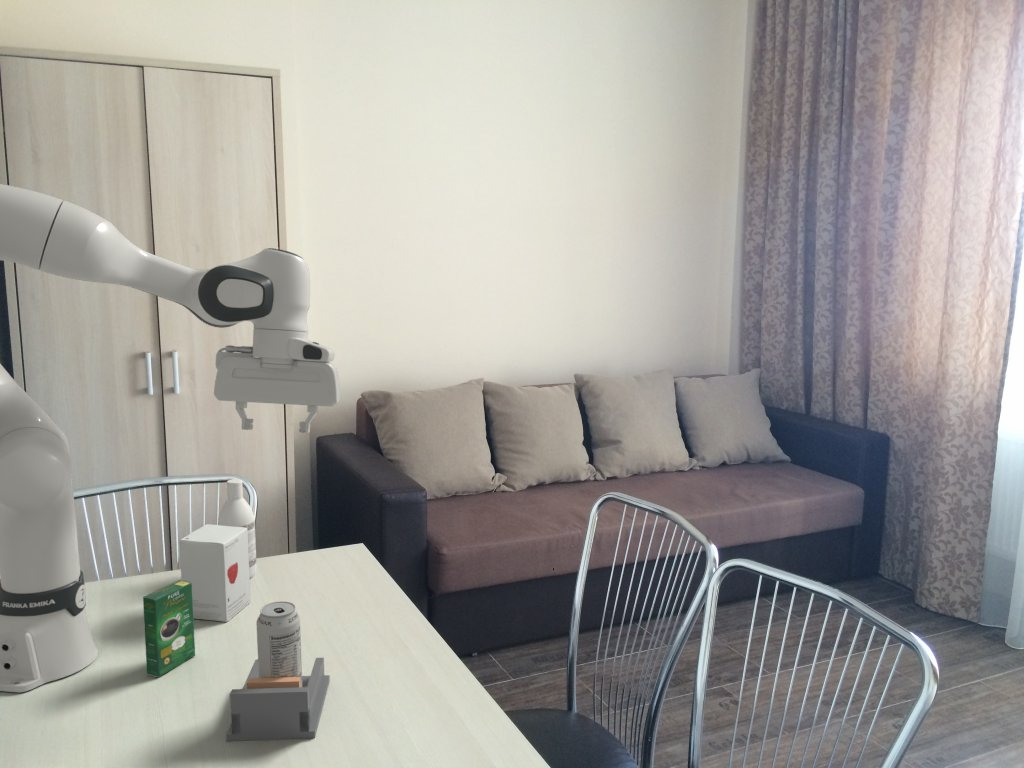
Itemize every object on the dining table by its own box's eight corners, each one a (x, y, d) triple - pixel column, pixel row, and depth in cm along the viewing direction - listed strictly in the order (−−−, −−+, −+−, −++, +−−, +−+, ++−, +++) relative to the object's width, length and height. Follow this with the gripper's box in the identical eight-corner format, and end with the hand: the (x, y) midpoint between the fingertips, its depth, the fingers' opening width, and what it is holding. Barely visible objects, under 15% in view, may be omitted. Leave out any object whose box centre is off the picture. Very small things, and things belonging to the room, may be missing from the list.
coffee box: (184, 651, 140) (179, 577, 137) (197, 655, 139) (193, 580, 136) (145, 674, 132) (140, 596, 130) (159, 678, 131) (154, 600, 129)
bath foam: (215, 574, 171) (210, 480, 168) (247, 565, 176) (243, 473, 172) (230, 585, 166) (225, 488, 163) (262, 575, 171) (258, 481, 167)
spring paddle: (248, 720, 118) (246, 682, 117) (250, 715, 119) (248, 678, 118) (300, 718, 119) (299, 681, 118) (301, 713, 120) (300, 676, 119)
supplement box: (227, 623, 150) (223, 544, 147) (182, 618, 152) (177, 539, 149) (252, 602, 159) (249, 526, 156) (209, 597, 160) (205, 522, 158)
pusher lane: (226, 740, 115) (223, 694, 114) (251, 683, 130) (249, 641, 129) (314, 737, 116) (313, 691, 115) (329, 681, 131) (328, 639, 130)
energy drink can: (292, 689, 127) (289, 596, 124) (309, 706, 122) (306, 610, 119) (253, 702, 123) (249, 606, 120) (269, 721, 118) (265, 622, 116)
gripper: (210, 344, 136) (206, 429, 136) (338, 351, 137) (333, 435, 137) (221, 344, 142) (217, 426, 142) (343, 352, 143) (339, 432, 144)
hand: (275, 431), depth 140 cm, fingers open, 8 cm apart
